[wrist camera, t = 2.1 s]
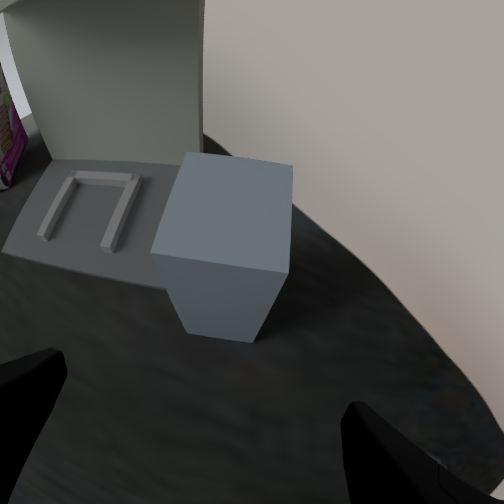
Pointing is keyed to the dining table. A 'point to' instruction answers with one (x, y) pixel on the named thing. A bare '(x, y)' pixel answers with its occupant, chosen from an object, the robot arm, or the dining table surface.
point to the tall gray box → (225, 243)
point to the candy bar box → (9, 135)
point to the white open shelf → (106, 127)
